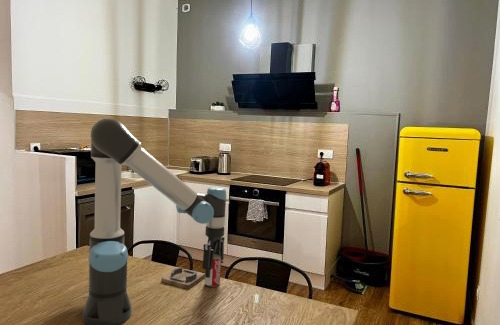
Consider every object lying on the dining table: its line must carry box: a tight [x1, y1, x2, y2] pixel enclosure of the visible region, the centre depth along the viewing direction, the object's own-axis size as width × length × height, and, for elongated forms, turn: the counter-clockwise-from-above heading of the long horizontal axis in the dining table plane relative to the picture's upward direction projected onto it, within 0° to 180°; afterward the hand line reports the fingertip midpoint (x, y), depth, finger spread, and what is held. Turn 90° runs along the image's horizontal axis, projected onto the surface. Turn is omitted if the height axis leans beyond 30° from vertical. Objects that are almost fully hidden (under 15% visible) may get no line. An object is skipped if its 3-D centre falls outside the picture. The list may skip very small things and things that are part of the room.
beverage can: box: [204, 254, 222, 288], centre depth 150 cm, size 6×6×12 cm
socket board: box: [161, 266, 205, 290], centre depth 154 cm, size 13×13×3 cm
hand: (212, 281), depth 150 cm, fingers closed on beverage can, 6 cm apart
